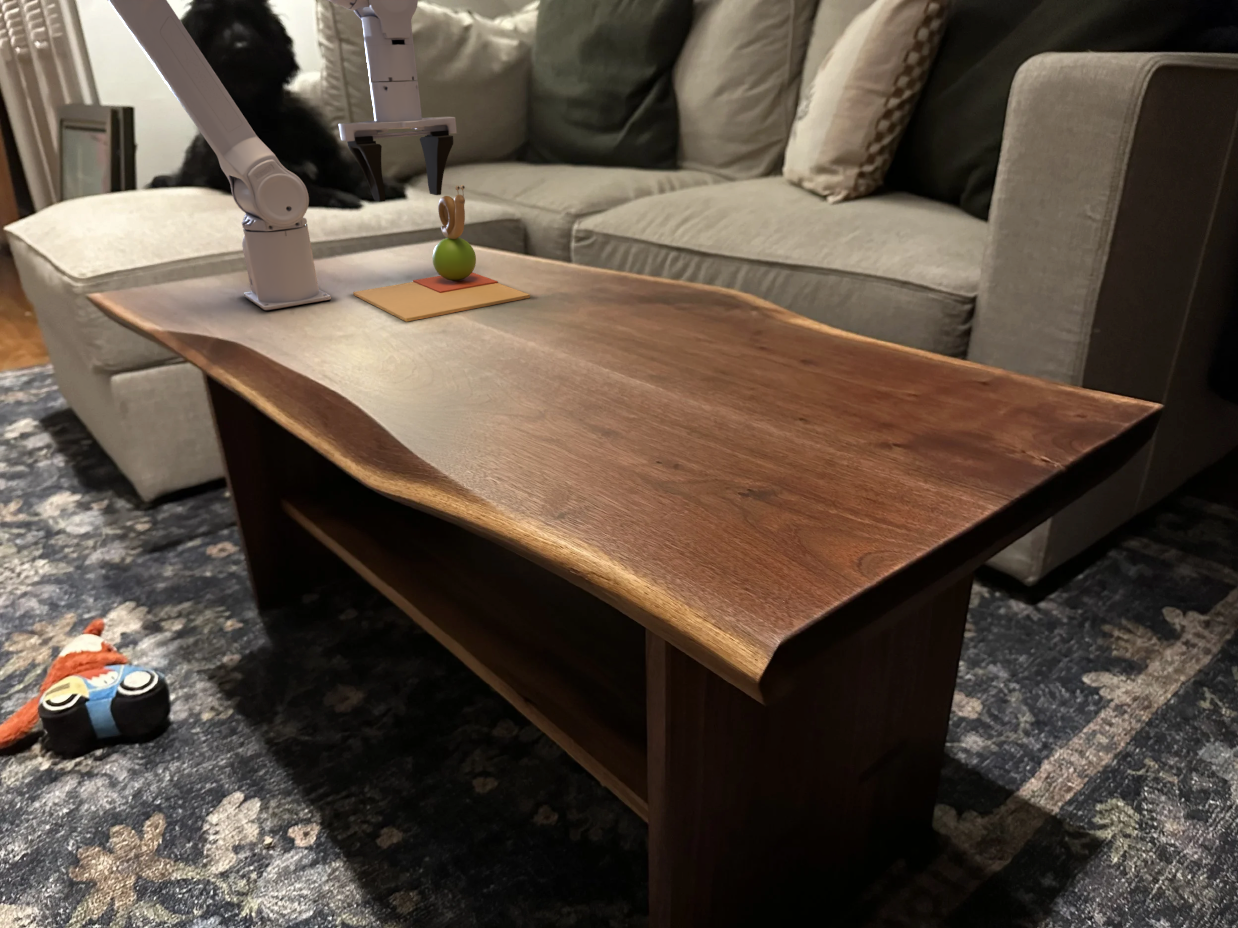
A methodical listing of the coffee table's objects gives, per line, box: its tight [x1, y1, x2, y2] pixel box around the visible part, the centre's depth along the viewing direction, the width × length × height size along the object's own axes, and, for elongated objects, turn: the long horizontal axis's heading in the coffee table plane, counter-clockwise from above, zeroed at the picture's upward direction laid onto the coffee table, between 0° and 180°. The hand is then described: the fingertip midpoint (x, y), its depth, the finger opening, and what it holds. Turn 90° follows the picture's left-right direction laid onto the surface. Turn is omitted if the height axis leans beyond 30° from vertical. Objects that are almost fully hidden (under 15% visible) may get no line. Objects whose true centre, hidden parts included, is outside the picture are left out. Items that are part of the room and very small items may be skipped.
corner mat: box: [352, 272, 531, 322], centre depth 106 cm, size 16×16×1 cm
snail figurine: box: [431, 184, 477, 281], centre depth 109 cm, size 5×6×12 cm
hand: (408, 197), depth 111 cm, fingers open, 7 cm apart
